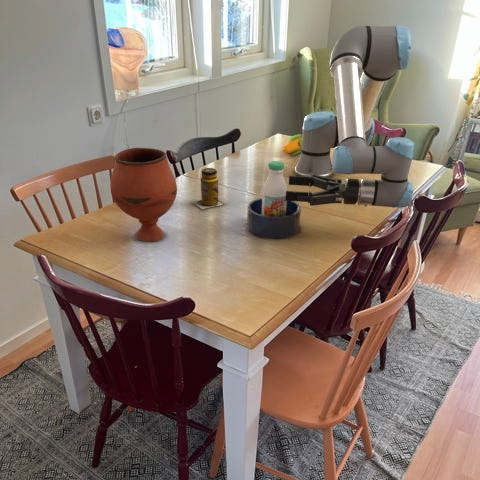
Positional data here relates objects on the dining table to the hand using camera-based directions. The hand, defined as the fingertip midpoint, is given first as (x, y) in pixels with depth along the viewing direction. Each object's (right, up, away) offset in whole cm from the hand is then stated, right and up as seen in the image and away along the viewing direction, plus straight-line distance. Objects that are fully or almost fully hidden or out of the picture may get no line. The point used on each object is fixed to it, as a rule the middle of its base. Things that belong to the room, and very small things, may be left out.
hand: (287, 187), depth 146 cm
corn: (+11, +36, +75) cm, 84 cm away
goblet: (-42, -14, +3) cm, 45 cm away
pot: (-4, -11, +8) cm, 14 cm away
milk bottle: (-4, -10, +8) cm, 13 cm away
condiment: (-26, +1, +24) cm, 35 cm away
